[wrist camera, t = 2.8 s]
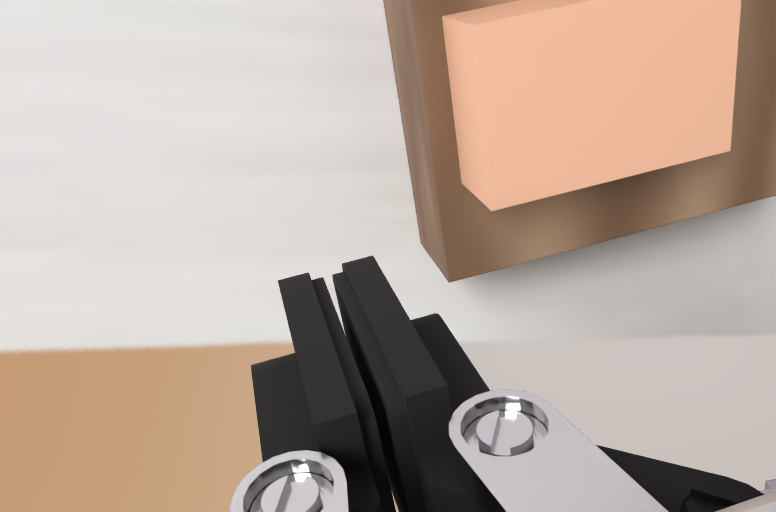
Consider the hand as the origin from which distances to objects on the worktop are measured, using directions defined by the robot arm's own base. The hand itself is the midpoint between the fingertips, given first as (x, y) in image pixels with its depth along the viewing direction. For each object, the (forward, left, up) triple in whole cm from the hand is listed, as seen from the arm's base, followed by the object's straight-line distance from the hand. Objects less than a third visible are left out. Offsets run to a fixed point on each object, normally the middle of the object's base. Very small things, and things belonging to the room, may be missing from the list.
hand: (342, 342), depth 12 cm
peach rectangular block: (-11, 0, -13) cm, 17 cm away
